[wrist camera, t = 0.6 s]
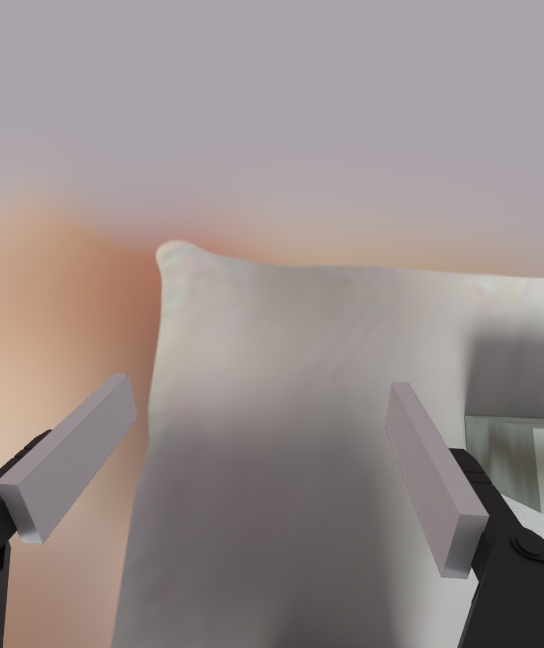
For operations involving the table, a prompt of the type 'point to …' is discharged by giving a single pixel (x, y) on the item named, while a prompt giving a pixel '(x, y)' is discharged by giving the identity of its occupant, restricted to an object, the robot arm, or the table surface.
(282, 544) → the table surface
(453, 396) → the table surface
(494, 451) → the link block
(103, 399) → the robot arm
